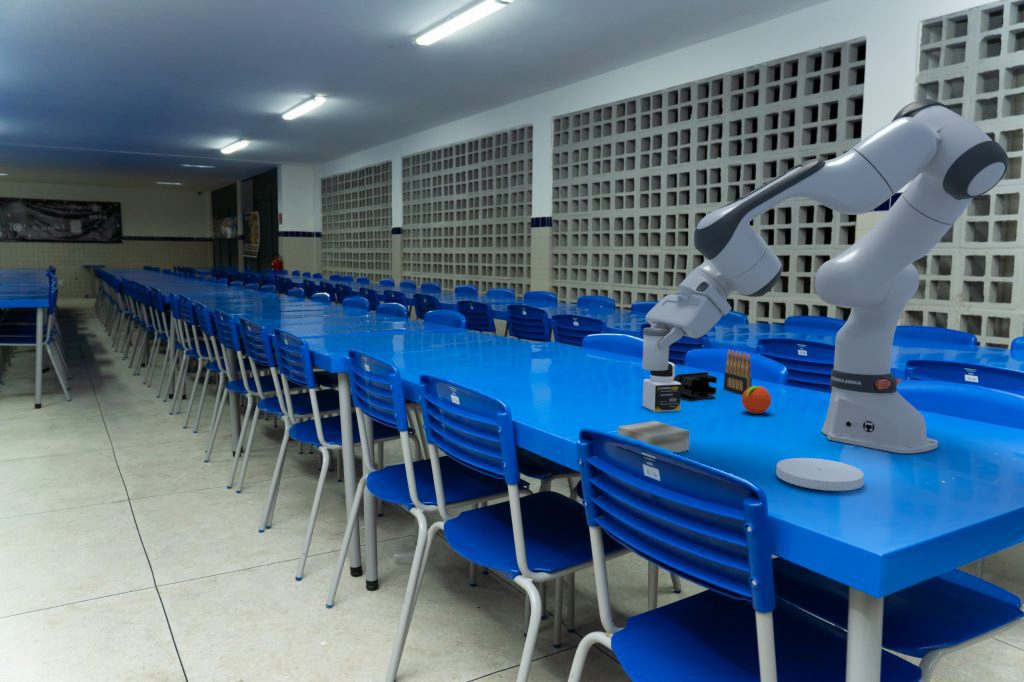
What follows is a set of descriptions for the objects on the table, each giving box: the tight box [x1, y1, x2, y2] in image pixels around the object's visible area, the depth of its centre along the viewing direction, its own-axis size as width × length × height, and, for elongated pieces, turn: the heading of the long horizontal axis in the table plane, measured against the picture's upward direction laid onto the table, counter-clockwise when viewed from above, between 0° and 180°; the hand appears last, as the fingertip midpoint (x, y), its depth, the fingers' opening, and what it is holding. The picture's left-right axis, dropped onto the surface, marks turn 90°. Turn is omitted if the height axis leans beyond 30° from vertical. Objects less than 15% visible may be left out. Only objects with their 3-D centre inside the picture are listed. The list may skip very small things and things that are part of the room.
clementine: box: [741, 384, 772, 415], centre depth 179 cm, size 8×7×7 cm
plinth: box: [617, 420, 690, 454], centre depth 147 cm, size 10×10×4 cm
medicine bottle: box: [642, 361, 682, 413], centre depth 184 cm, size 7×7×12 cm
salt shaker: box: [642, 327, 670, 371], centre depth 144 cm, size 5×5×8 cm
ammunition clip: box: [723, 348, 753, 396], centre depth 206 cm, size 11×2×12 cm, turn 18°
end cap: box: [673, 371, 718, 402], centre depth 198 cm, size 10×7×7 cm
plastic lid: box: [775, 457, 865, 492], centre depth 126 cm, size 14×14×2 cm
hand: (653, 344), depth 144 cm, fingers closed on salt shaker, 5 cm apart
